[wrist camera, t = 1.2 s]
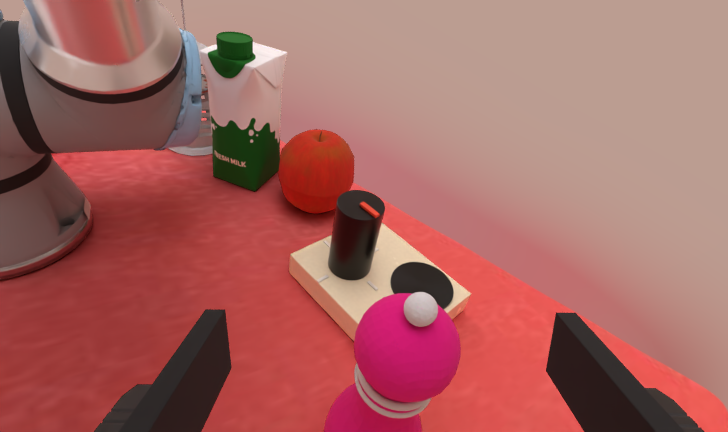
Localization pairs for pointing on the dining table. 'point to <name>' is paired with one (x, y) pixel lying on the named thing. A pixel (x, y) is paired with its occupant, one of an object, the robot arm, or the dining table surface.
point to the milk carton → (244, 108)
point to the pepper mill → (397, 365)
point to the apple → (316, 170)
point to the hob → (357, 296)
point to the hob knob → (355, 234)
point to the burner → (422, 282)
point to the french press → (204, 137)
